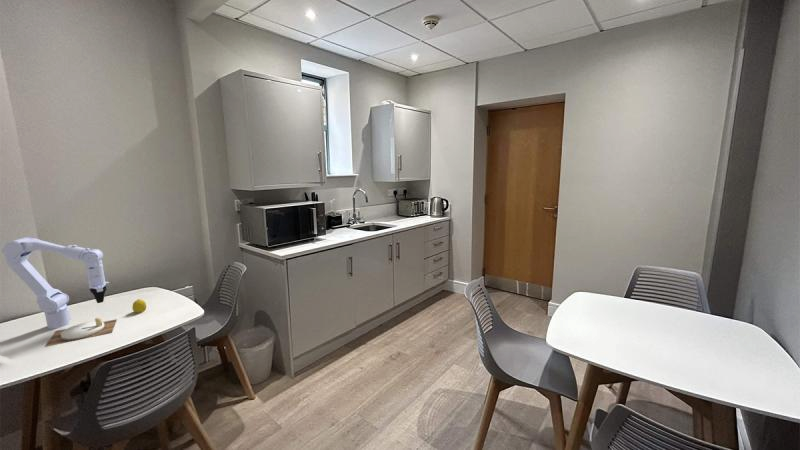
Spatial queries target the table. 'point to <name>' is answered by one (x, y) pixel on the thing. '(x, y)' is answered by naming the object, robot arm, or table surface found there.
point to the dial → (83, 330)
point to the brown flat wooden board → (58, 340)
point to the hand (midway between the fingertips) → (100, 302)
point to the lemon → (139, 306)
